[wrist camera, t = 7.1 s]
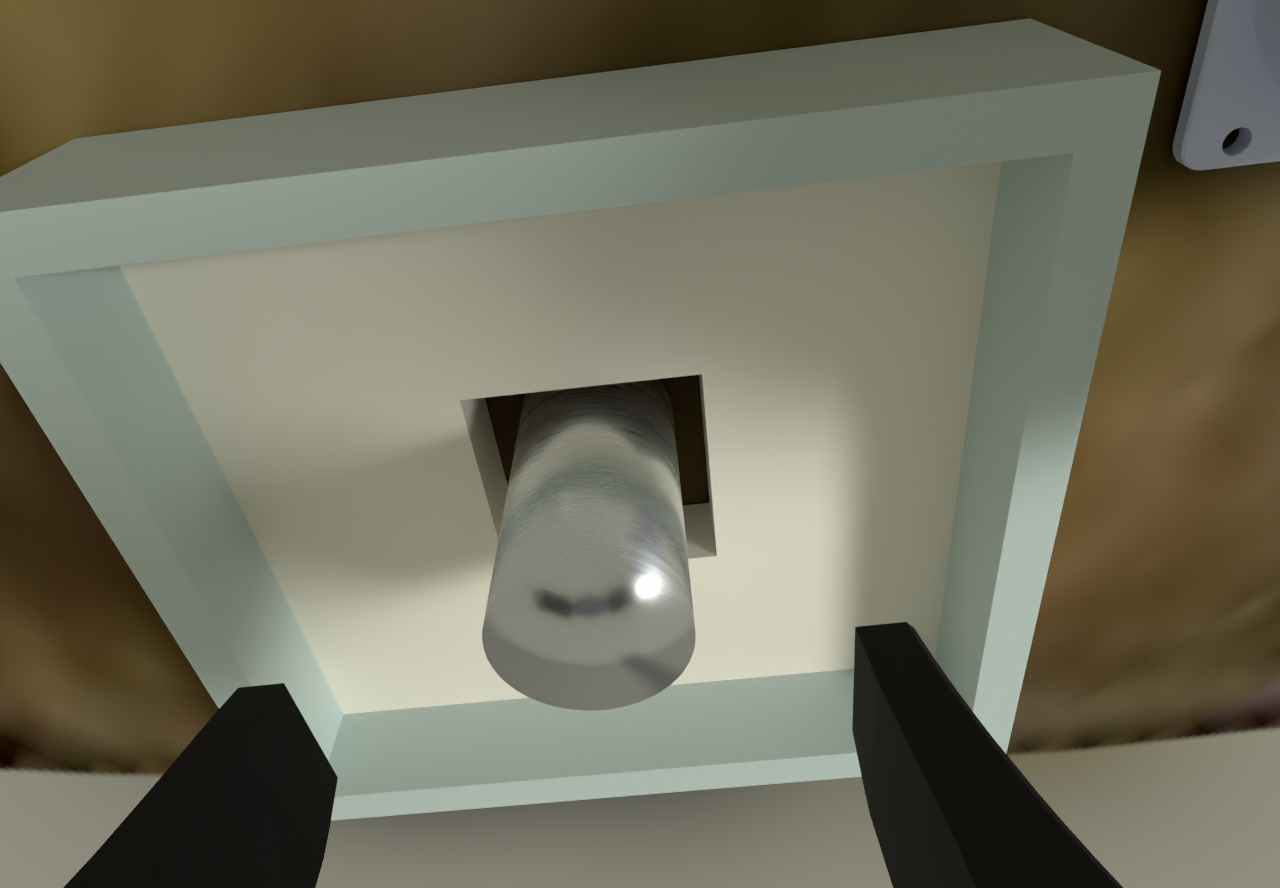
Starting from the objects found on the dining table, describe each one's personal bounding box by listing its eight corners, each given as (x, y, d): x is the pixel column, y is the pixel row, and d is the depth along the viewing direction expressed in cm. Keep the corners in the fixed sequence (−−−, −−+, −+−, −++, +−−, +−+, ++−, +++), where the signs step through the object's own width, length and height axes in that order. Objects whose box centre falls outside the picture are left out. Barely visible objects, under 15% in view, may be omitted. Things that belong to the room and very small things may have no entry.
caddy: (1030, 18, 15) (1161, 70, 12) (945, 626, 24) (1003, 764, 21) (74, 138, 16) (-89, 222, 12) (339, 682, 25) (291, 823, 22)
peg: (667, 344, 19) (689, 553, 13) (678, 472, 21) (700, 702, 15) (509, 359, 19) (461, 572, 13) (535, 485, 21) (503, 717, 15)
